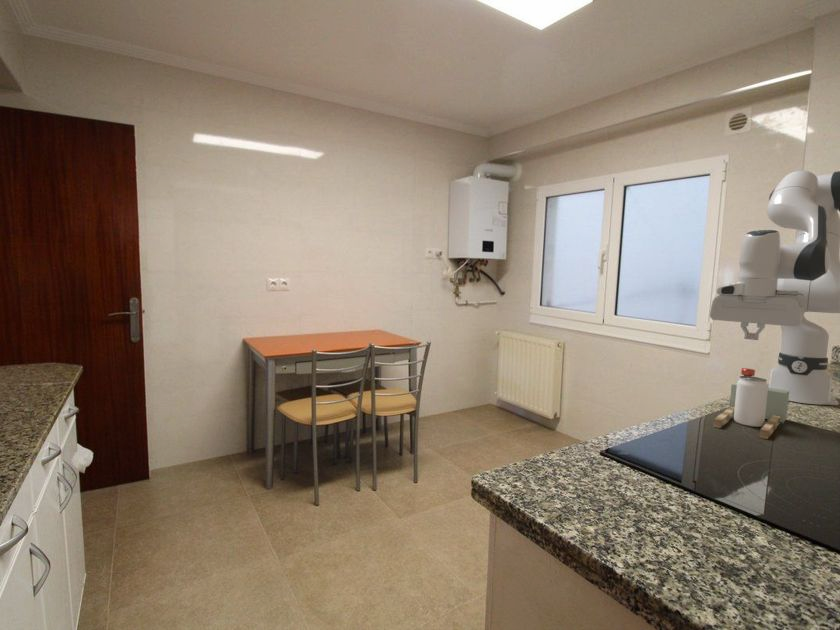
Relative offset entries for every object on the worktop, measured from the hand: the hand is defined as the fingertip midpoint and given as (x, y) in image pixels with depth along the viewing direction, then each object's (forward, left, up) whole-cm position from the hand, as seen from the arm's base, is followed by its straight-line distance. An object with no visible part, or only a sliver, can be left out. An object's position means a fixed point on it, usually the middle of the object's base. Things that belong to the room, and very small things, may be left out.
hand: (751, 339), depth 123 cm
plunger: (0, 0, -16) cm, 16 cm away
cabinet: (0, +3, -21) cm, 21 cm away
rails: (+12, +3, -21) cm, 25 cm away
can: (+10, +3, -21) cm, 24 cm away
